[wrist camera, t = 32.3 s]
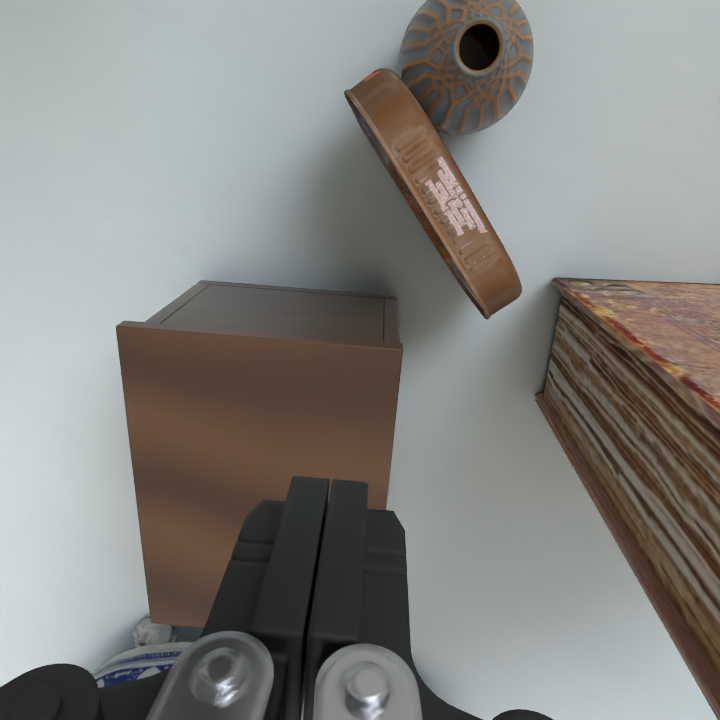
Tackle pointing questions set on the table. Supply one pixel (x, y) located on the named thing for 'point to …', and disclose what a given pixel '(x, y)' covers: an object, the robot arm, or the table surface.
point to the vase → (466, 61)
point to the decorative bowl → (143, 655)
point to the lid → (242, 439)
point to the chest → (285, 311)
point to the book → (649, 441)
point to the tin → (435, 189)
